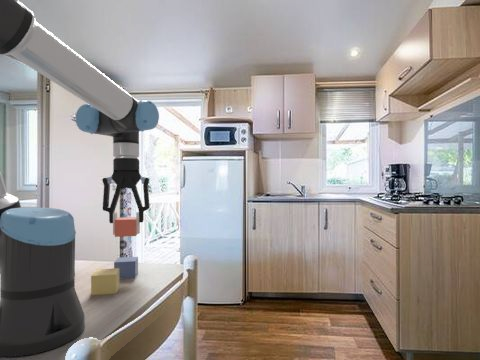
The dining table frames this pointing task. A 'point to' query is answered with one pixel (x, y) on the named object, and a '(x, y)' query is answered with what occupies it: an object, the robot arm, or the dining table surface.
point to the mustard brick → (105, 281)
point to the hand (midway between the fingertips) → (126, 233)
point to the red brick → (125, 226)
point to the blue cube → (127, 267)
